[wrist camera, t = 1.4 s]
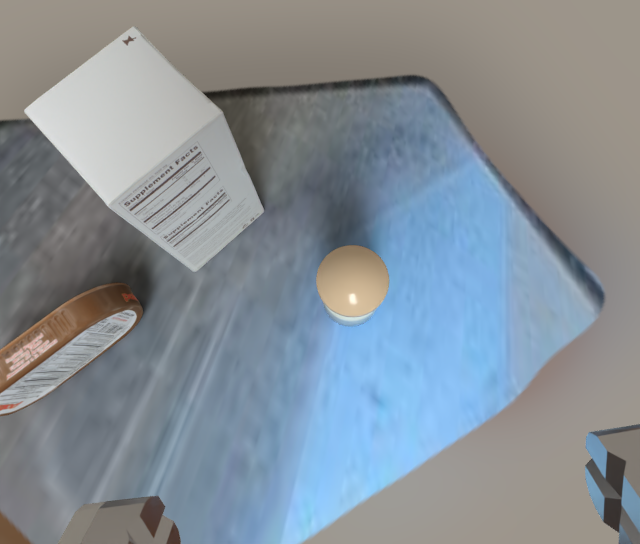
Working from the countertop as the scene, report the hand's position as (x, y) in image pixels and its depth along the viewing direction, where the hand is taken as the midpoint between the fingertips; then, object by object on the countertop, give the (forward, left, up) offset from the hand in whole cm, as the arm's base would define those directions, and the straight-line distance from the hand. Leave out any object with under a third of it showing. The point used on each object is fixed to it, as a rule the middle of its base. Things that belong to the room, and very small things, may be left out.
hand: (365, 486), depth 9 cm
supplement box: (-22, +7, -32) cm, 39 cm away
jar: (-5, +8, -31) cm, 33 cm away
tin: (-22, -10, -32) cm, 40 cm away
